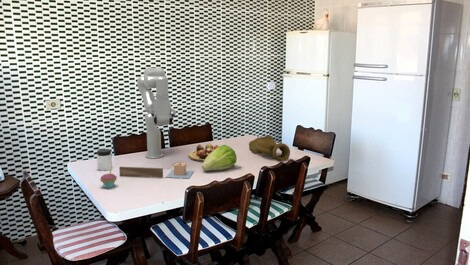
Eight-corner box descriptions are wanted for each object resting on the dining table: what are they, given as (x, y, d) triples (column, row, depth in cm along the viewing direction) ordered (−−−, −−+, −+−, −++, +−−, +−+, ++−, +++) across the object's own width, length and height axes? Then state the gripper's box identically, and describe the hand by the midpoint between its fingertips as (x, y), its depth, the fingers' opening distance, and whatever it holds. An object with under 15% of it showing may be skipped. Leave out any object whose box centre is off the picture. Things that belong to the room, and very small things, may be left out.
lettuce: (214, 182, 230) (200, 179, 243) (242, 162, 244) (227, 160, 256) (206, 161, 226) (192, 159, 238) (234, 142, 239) (220, 141, 251)
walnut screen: (120, 175, 226) (120, 166, 225) (163, 177, 224) (162, 168, 223) (119, 176, 225) (119, 167, 224) (162, 177, 223) (162, 169, 222)
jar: (94, 169, 238) (93, 150, 236) (105, 166, 245) (104, 148, 242) (104, 171, 234) (103, 152, 231) (114, 168, 241) (113, 150, 238)
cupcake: (118, 183, 212) (117, 163, 210) (114, 189, 204) (113, 167, 201) (103, 183, 212) (102, 163, 209) (98, 189, 203) (97, 167, 201)
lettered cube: (176, 172, 232) (176, 162, 231) (186, 172, 232) (185, 162, 230) (174, 175, 226) (173, 165, 225) (183, 175, 226) (183, 165, 224)
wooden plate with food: (213, 166, 249) (213, 154, 247) (179, 157, 268) (178, 146, 266) (241, 156, 274) (242, 145, 272) (208, 149, 293) (208, 138, 291)
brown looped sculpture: (280, 138, 288) (294, 140, 261) (274, 159, 288) (288, 163, 261) (252, 130, 282) (264, 131, 256) (246, 151, 282) (257, 154, 255)
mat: (171, 170, 236) (171, 169, 236) (193, 171, 235) (193, 170, 235) (165, 177, 223) (165, 176, 223) (189, 178, 222) (189, 177, 221)
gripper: (147, 97, 233) (148, 124, 236) (174, 98, 231) (175, 125, 235) (150, 96, 240) (151, 122, 244) (177, 96, 239) (178, 123, 242)
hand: (163, 123), depth 239 cm, fingers open, 9 cm apart
